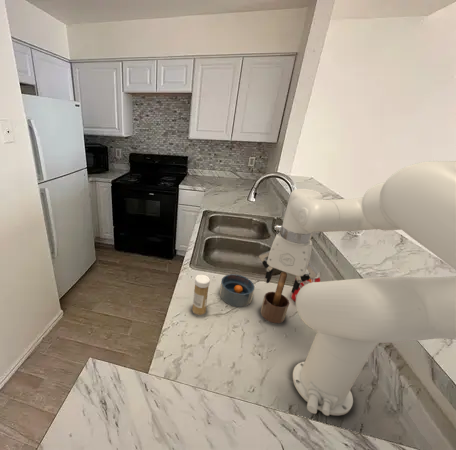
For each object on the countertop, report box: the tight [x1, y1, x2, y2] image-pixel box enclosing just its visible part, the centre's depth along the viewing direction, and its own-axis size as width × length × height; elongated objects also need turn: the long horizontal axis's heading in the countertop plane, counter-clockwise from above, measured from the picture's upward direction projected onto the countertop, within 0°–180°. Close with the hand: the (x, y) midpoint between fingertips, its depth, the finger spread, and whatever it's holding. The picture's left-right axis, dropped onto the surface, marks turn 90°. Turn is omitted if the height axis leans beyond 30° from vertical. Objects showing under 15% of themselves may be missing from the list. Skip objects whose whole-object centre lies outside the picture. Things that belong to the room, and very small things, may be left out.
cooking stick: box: [272, 271, 288, 306], centre depth 79 cm, size 2×2×17 cm
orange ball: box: [234, 285, 243, 294], centre depth 92 cm, size 3×3×3 cm
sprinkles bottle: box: [191, 274, 211, 316], centre depth 82 cm, size 5×5×14 cm
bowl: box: [219, 273, 255, 308], centre depth 90 cm, size 11×11×6 cm
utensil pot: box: [260, 291, 290, 324], centre depth 82 cm, size 7×7×7 cm
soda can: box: [290, 270, 321, 303], centre depth 87 cm, size 7×7×12 cm
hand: (280, 285), depth 78 cm, fingers open, 6 cm apart
